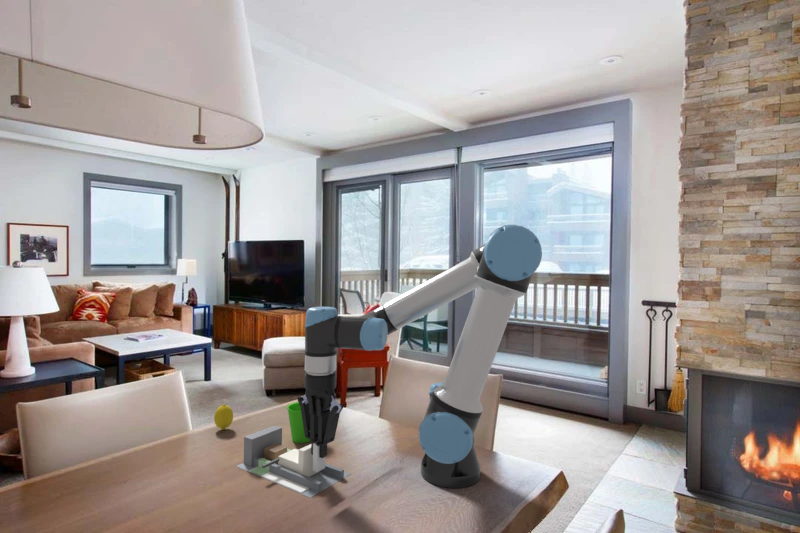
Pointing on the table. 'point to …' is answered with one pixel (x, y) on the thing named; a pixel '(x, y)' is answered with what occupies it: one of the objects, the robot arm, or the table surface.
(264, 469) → the base
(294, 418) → the cup
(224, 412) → the lemon
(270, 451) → the tan wooden cube
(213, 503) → the table surface
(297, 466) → the cream block
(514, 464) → the table surface
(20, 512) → the table surface
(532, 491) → the table surface
